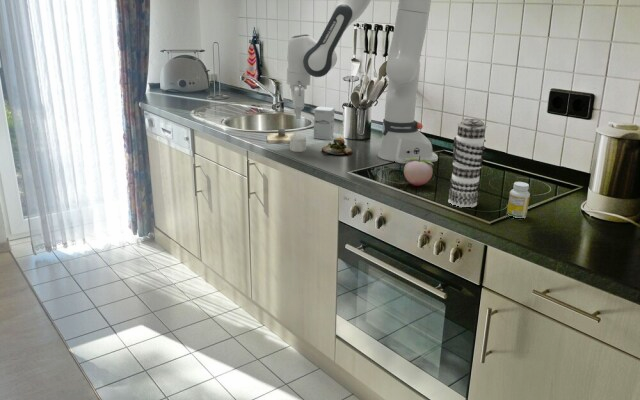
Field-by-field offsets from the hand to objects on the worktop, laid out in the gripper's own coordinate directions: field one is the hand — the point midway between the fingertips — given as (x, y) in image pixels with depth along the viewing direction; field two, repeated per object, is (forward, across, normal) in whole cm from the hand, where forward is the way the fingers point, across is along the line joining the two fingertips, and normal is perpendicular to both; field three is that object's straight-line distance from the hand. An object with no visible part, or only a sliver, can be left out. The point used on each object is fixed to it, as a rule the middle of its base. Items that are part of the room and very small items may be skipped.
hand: (297, 115), depth 215 cm
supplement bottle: (+12, -71, -59) cm, 93 cm away
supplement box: (+14, +20, -13) cm, 27 cm away
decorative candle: (+12, -60, -47) cm, 77 cm away
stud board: (+14, +16, +5) cm, 22 cm away
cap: (+13, 0, -1) cm, 13 cm away
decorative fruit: (+12, -45, -37) cm, 60 cm away
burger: (+14, -4, -16) cm, 21 cm away
